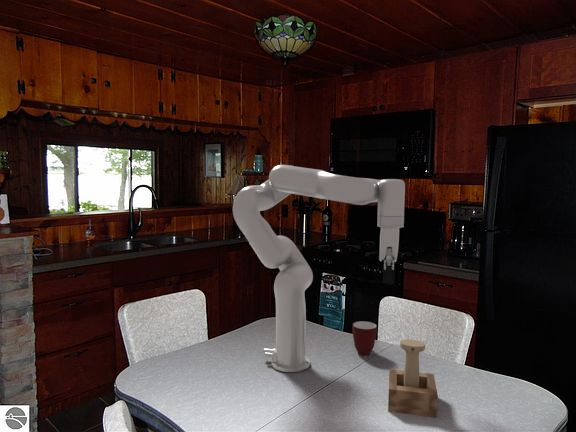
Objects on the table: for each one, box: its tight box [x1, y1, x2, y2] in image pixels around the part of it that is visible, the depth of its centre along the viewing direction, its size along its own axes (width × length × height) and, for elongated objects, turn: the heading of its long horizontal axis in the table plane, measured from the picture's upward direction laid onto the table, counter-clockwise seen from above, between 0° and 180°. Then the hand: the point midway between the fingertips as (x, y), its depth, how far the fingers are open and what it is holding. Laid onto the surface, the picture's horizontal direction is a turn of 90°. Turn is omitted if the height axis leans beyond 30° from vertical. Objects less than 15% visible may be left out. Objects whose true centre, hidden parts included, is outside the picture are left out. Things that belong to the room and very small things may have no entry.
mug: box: [352, 320, 378, 356], centre depth 151 cm, size 11×8×10 cm
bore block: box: [387, 368, 439, 418], centre depth 118 cm, size 12×12×6 cm
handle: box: [399, 339, 426, 388], centre depth 117 cm, size 5×6×15 cm
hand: (388, 279), depth 130 cm, fingers open, 9 cm apart
